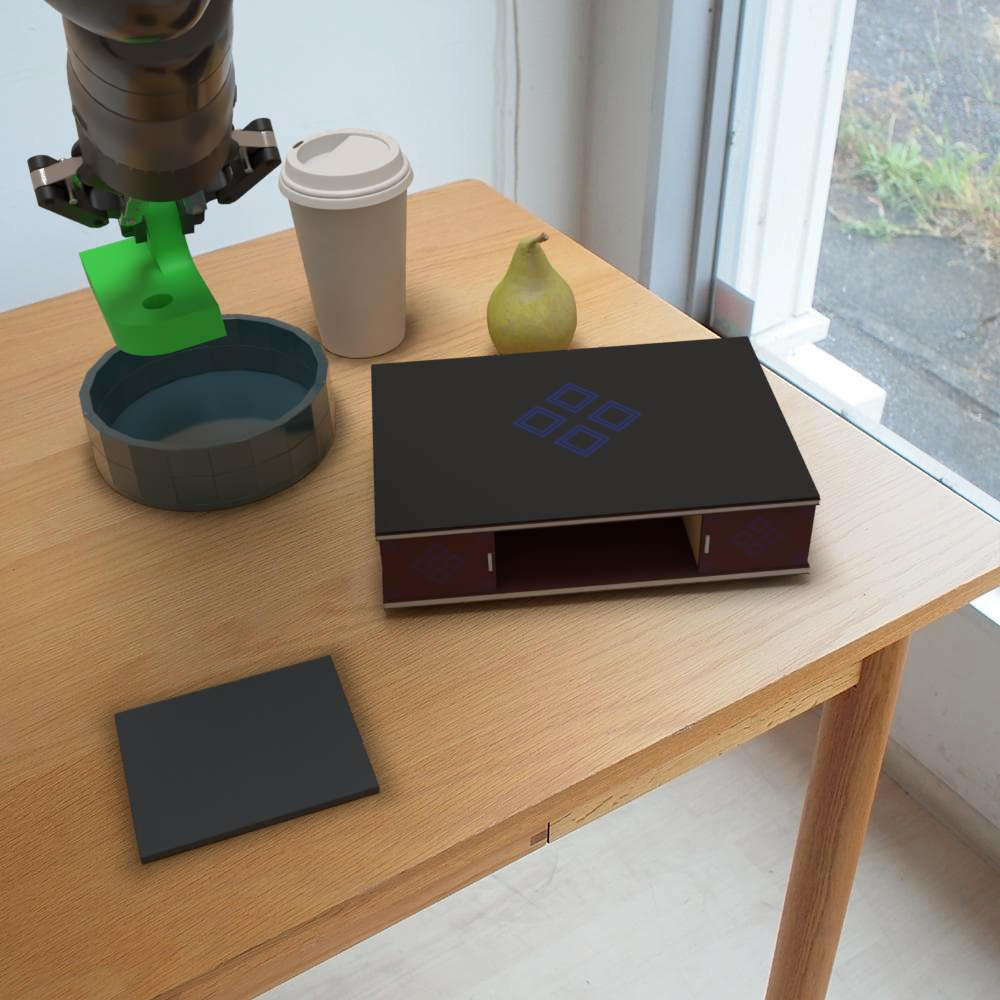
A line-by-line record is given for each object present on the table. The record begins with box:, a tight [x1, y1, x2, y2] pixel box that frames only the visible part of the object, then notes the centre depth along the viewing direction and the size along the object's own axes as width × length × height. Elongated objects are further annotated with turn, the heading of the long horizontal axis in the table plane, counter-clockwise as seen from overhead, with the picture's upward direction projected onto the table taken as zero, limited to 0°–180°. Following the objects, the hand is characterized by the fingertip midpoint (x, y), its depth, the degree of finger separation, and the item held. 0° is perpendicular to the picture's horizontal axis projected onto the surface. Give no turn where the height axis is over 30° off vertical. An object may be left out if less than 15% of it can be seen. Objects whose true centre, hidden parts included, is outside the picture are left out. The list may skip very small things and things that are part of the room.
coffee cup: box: [277, 128, 414, 359], centre depth 97 cm, size 10×10×15 cm
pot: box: [78, 313, 336, 512], centre depth 90 cm, size 16×16×5 cm
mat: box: [113, 654, 381, 864], centre depth 69 cm, size 12×10×1 cm
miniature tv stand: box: [370, 335, 822, 611], centre depth 82 cm, size 17×25×7 cm
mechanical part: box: [78, 201, 227, 356], centre depth 78 cm, size 12×6×8 cm, turn 24°
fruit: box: [486, 232, 578, 355], centre depth 95 cm, size 7×8×12 cm
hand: (160, 223), depth 79 cm, fingers closed on mechanical part
